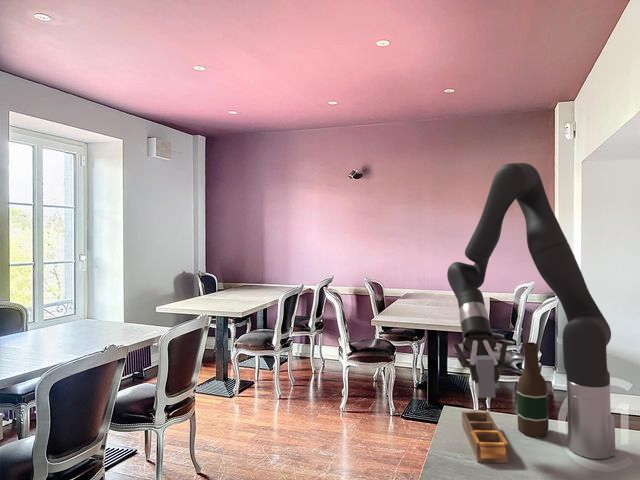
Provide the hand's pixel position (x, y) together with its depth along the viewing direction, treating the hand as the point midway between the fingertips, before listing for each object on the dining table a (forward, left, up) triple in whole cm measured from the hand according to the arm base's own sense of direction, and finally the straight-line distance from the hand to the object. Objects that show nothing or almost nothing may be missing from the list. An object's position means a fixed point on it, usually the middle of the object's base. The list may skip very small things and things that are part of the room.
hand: (486, 381), depth 114 cm
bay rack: (0, -5, -18) cm, 18 cm away
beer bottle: (-14, -12, -18) cm, 26 cm away
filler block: (0, -2, -4) cm, 5 cm away
